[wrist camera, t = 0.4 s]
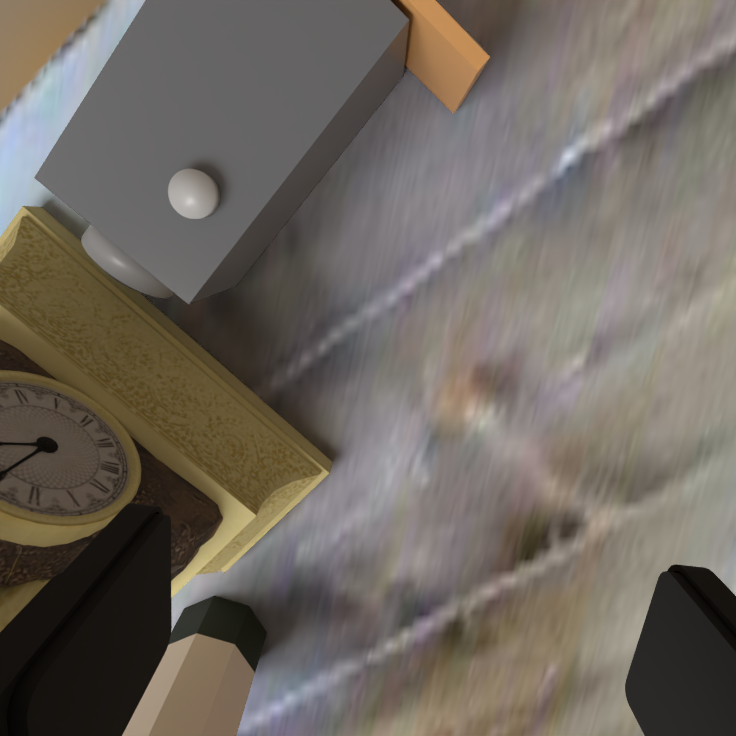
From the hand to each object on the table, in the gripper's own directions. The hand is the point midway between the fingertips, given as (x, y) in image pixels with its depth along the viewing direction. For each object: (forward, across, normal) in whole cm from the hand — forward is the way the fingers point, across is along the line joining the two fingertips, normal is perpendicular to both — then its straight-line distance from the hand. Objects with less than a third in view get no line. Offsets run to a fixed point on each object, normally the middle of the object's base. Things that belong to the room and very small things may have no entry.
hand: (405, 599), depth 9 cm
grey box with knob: (+28, +11, -11) cm, 32 cm away
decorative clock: (+28, +18, +8) cm, 35 cm away
